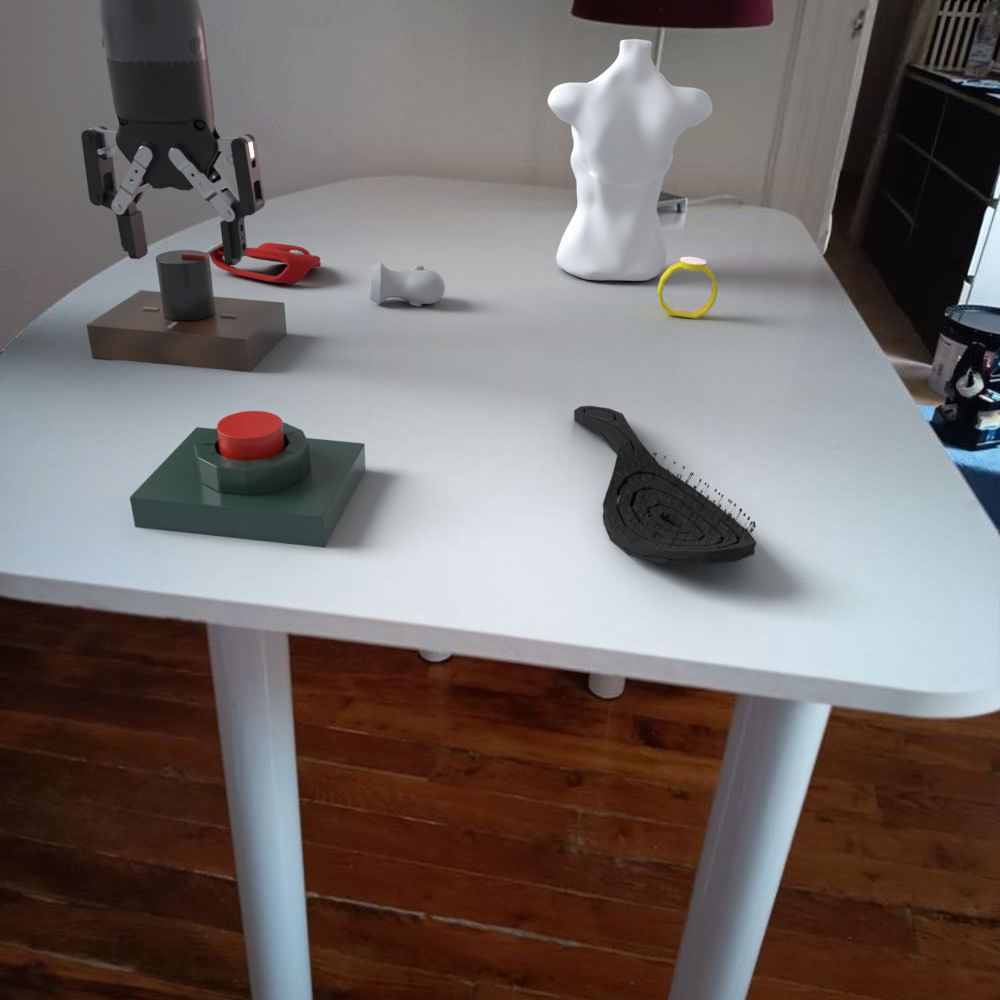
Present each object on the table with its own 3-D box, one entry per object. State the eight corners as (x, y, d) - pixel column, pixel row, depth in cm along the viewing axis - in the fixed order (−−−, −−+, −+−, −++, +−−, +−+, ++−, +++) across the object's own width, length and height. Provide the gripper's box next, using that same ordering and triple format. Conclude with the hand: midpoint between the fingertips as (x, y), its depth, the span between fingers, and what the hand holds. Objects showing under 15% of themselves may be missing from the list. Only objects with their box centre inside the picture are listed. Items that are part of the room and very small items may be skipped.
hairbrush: (636, 379, 73) (793, 530, 52) (632, 422, 75) (782, 586, 53) (536, 385, 71) (655, 543, 50) (534, 428, 73) (648, 600, 51)
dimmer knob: (154, 318, 79) (145, 257, 77) (176, 302, 83) (168, 244, 81) (203, 322, 79) (196, 262, 76) (223, 306, 83) (216, 248, 80)
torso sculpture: (673, 262, 114) (704, 39, 102) (694, 286, 106) (732, 46, 93) (529, 259, 112) (544, 31, 100) (540, 283, 104) (557, 37, 91)
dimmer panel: (92, 358, 79) (85, 323, 77) (145, 320, 88) (140, 288, 86) (248, 372, 78) (245, 337, 76) (286, 333, 86) (284, 300, 85)
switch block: (134, 527, 56) (124, 470, 54) (200, 454, 65) (193, 402, 63) (324, 548, 55) (321, 491, 53) (365, 471, 64) (364, 419, 62)
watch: (655, 318, 95) (663, 261, 92) (653, 310, 98) (661, 254, 95) (713, 322, 95) (723, 265, 92) (710, 313, 97) (719, 258, 94)
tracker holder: (306, 248, 108) (338, 248, 100) (303, 286, 109) (335, 289, 100) (201, 232, 101) (227, 231, 93) (199, 273, 102) (224, 275, 94)
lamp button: (209, 460, 57) (206, 434, 56) (233, 432, 60) (231, 408, 59) (272, 466, 56) (270, 441, 55) (293, 438, 60) (291, 413, 59)
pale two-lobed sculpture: (445, 309, 98) (441, 309, 93) (371, 303, 98) (363, 303, 93) (448, 268, 97) (444, 266, 92) (373, 262, 97) (365, 260, 92)
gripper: (262, 53, 74) (279, 253, 82) (93, 44, 75) (127, 243, 83) (227, 61, 67) (250, 278, 75) (43, 51, 68) (85, 266, 77)
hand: (185, 259), depth 79 cm, fingers open, 8 cm apart
